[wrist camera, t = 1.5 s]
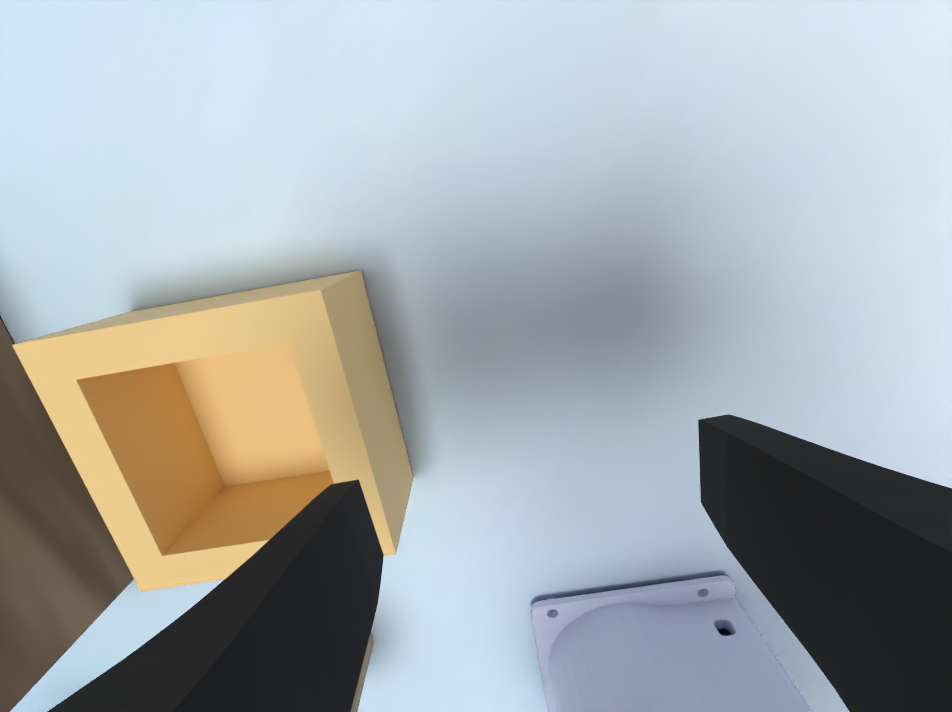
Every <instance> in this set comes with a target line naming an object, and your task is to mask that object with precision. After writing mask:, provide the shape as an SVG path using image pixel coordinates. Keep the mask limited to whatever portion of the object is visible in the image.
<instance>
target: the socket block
mask: <svg viewBox="0 0 952 712" xmlns="http://www.w3.org/2000/svg"><path fill="white" fill-rule="evenodd" d="M12 346H13V348H14V350H15V352H16V354H17V355H18V357H19V359H20V361H21V363H22V365H23V367H24V369H25V371H26V373H27V375H28V377H29V378H30V380H31V382H32V384H33V386H34V388H35V390H36V392H37V394H38V396H39V398H40V399H41V401H42V403H43V405H44V407H45V409H46V411H47V413H48V415H49V417H50V419H51V421H52V422H53V424H54V426H55V428H56V430H57V432H58V434H59V436H60V438H61V440H62V442H63V443H64V445H65V447H66V449H67V451H68V453H69V455H70V457H71V459H72V461H73V463H74V465H75V466H76V468H77V470H78V472H79V474H80V476H81V478H82V480H83V482H84V484H85V486H86V487H87V489H88V491H89V493H90V495H91V497H92V499H93V501H94V503H95V505H96V507H97V509H98V510H99V512H100V514H101V516H102V518H103V520H104V522H105V524H106V526H107V528H108V530H109V531H110V533H111V535H112V537H113V539H114V541H115V543H116V545H117V547H118V549H119V551H120V553H121V554H122V556H123V558H124V560H125V562H126V564H127V566H128V568H129V570H130V572H131V574H132V576H133V577H134V579H135V581H136V583H137V585H138V587H139V589H140V591H141V592H142V591H149V590H155V589H162V588H169V587H176V586H183V585H189V584H196V583H203V582H210V581H217V580H223V579H226V578H227V577H228V576H229V575H230V574H232V573H233V572H234V571H235V570H236V569H237V568H239V567H240V566H241V565H242V564H243V563H244V562H245V561H247V560H248V559H249V558H250V557H251V556H252V555H254V554H255V553H256V552H257V551H258V550H259V549H260V548H261V547H262V546H263V545H264V544H265V543H267V542H268V541H269V540H270V539H271V538H272V537H273V536H274V535H275V534H276V533H277V532H278V531H280V530H281V529H282V528H283V527H284V526H285V525H286V524H287V523H288V522H289V521H290V520H291V519H292V518H294V517H295V516H296V515H297V514H298V513H299V512H300V511H301V510H302V509H303V508H304V507H305V506H306V505H308V504H309V503H310V502H311V501H312V500H313V499H314V498H315V497H316V496H318V495H319V494H320V493H321V492H322V491H323V490H325V489H326V488H327V487H328V486H330V485H331V484H335V483H341V482H347V481H352V480H358V479H359V482H360V485H361V488H362V491H363V494H364V497H365V500H366V503H367V506H368V509H369V512H370V515H371V518H372V521H373V524H374V527H375V530H376V533H377V536H378V539H379V542H380V545H381V548H382V552H383V555H384V556H387V555H393V554H396V551H397V547H398V543H399V538H400V534H401V529H402V525H403V521H404V516H405V512H406V508H407V503H408V499H409V495H410V490H411V486H412V482H413V474H412V470H411V466H410V462H409V458H408V454H407V450H406V446H405V442H404V438H403V434H402V430H401V426H400V422H399V418H398V414H397V410H396V406H395V402H394V398H393V394H392V390H391V386H390V382H389V379H388V375H387V371H386V367H385V363H384V359H383V355H382V351H381V347H380V343H379V339H378V335H377V331H376V327H375V323H374V319H373V315H372V311H371V307H370V303H369V299H368V295H367V291H366V287H365V283H364V280H363V276H362V272H361V270H359V271H353V272H348V273H342V274H336V275H331V276H325V277H320V278H314V279H309V280H303V281H298V282H292V283H286V284H281V285H275V286H270V287H264V288H259V289H253V290H248V291H242V292H236V293H231V294H225V295H220V296H214V297H209V298H203V299H197V300H192V301H186V302H181V303H175V304H170V305H164V306H159V307H153V308H147V309H142V310H136V311H131V312H127V313H124V314H120V315H117V316H113V317H109V318H106V319H102V320H99V321H95V322H92V323H88V324H84V325H81V326H77V327H74V328H70V329H67V330H63V331H60V332H56V333H52V334H49V335H45V336H42V337H38V338H35V339H31V340H27V341H24V342H20V343H17V344H13V345H12Z"/></svg>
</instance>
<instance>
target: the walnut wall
mask: <svg viewBox="0 0 952 712" xmlns="http://www.w3.org/2000/svg"><path fill="white" fill-rule="evenodd" d="M12 345H13V342H12V340H11V338H10V336H9V334H8V332H7V330H6V328H5V326H4V324H3V322H2V321H1V319H0V712H10V711H11V710H12V709H13V708H14V707H15V705H16V704H17V703H18V702H19V701H20V700H21V699H22V698H23V697H24V696H25V695H26V694H27V693H28V692H29V690H30V689H31V688H32V687H33V686H34V685H35V684H36V683H37V682H38V681H39V680H40V679H41V678H42V677H43V676H44V674H45V673H46V672H47V671H48V670H49V669H50V668H51V667H52V666H53V665H54V664H55V663H56V662H57V661H58V659H59V658H60V657H61V656H62V655H63V654H64V653H65V652H66V651H67V650H68V649H69V648H70V647H71V646H72V644H73V643H74V642H75V641H76V640H77V639H78V638H79V637H80V636H81V635H82V634H83V633H84V632H85V631H86V630H87V628H88V627H89V626H90V625H91V624H92V623H93V622H94V621H95V620H96V619H97V618H98V617H99V616H100V615H101V613H102V612H103V611H104V610H105V609H106V608H107V607H108V606H109V605H110V604H111V603H112V602H113V601H114V600H115V598H116V597H117V596H118V595H119V594H120V593H121V592H122V591H123V590H124V589H125V588H126V587H127V586H128V585H129V584H130V582H131V581H132V580H133V579H134V577H133V576H132V574H131V572H130V570H129V568H128V566H127V564H126V562H125V560H124V558H123V556H122V554H121V553H120V551H119V549H118V547H117V545H116V543H115V541H114V539H113V537H112V535H111V533H110V531H109V530H108V528H107V526H106V524H105V522H104V520H103V518H102V516H101V514H100V512H99V510H98V509H97V507H96V505H95V503H94V501H93V499H92V497H91V495H90V493H89V491H88V489H87V487H86V486H85V484H84V482H83V480H82V478H81V476H80V474H79V472H78V470H77V468H76V466H75V465H74V463H73V461H72V459H71V457H70V455H69V453H68V451H67V449H66V447H65V445H64V443H63V442H62V440H61V438H60V436H59V434H58V432H57V430H56V428H55V426H54V424H53V422H52V421H51V419H50V417H49V415H48V413H47V411H46V409H45V407H44V405H43V403H42V401H41V399H40V398H39V396H38V394H37V392H36V390H35V388H34V386H33V384H32V382H31V380H30V378H29V377H28V375H27V373H26V371H25V369H24V367H23V365H22V363H21V361H20V359H19V357H18V355H17V354H16V352H15V350H14V348H13V346H12Z"/></svg>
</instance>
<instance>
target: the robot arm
mask: <svg viewBox="0 0 952 712" xmlns="http://www.w3.org/2000/svg"><path fill="white" fill-rule="evenodd" d="M698 422H699V454H700V485H701V503H702V505H703V507H704V508H705V510H706V512H707V514H708V515H709V517H710V519H711V521H712V522H713V524H714V526H715V528H716V529H717V531H718V532H719V534H720V536H721V537H722V539H723V541H724V542H725V544H726V546H727V547H728V548H729V550H730V551H731V553H732V554H733V555H734V557H735V558H736V559H737V561H738V562H739V563H740V564H741V566H742V567H743V568H744V570H745V571H746V572H747V574H748V575H749V576H750V578H751V579H752V580H753V582H754V583H755V584H756V585H757V587H758V588H759V589H760V591H761V592H762V593H763V595H764V596H765V597H766V598H767V600H768V601H769V602H770V604H771V605H772V606H773V607H774V609H775V610H776V611H777V613H778V614H779V615H780V616H781V618H782V619H783V620H784V622H785V623H786V624H787V626H788V627H789V628H790V629H791V631H792V632H793V633H794V635H795V636H796V637H797V638H798V640H799V641H800V642H801V644H802V645H803V646H804V648H805V649H806V650H807V651H808V653H809V654H810V655H811V657H812V658H813V659H814V661H815V662H816V663H817V665H818V666H819V667H820V669H821V670H822V672H823V673H824V674H825V676H826V677H827V679H828V680H829V681H830V683H831V684H832V686H833V687H834V688H835V690H836V691H837V693H838V694H839V696H840V697H841V699H842V701H843V702H844V704H845V705H846V707H847V708H848V710H849V711H850V712H952V488H948V487H945V486H941V485H938V484H935V483H931V482H928V481H925V480H922V479H918V478H915V477H912V476H909V475H906V474H903V473H899V472H896V471H893V470H890V469H887V468H883V467H880V466H877V465H874V464H871V463H868V462H865V461H862V460H860V459H857V458H854V457H851V456H848V455H845V454H842V453H839V452H836V451H834V450H831V449H828V448H825V447H822V446H819V445H817V444H814V443H811V442H808V441H806V440H803V439H800V438H797V437H795V436H792V435H789V434H786V433H783V432H781V431H778V430H775V429H772V428H770V427H767V426H764V425H761V424H758V423H755V422H752V421H749V420H746V419H743V418H740V417H736V416H732V415H723V416H717V417H712V418H706V419H700V420H698ZM383 556H384V555H383V552H382V548H381V545H380V542H379V539H378V536H377V533H376V530H375V527H374V524H373V521H372V518H371V515H370V512H369V509H368V506H367V503H366V500H365V497H364V494H363V491H362V488H361V485H360V482H359V479H358V480H352V481H347V482H341V483H335V484H331V485H330V486H328V487H327V488H326V489H325V490H323V491H322V492H321V493H320V494H319V495H318V496H316V497H315V498H314V499H313V500H312V501H311V502H310V503H309V504H308V505H306V506H305V507H304V508H303V509H302V510H301V511H300V512H299V513H298V514H297V515H296V516H295V517H294V518H292V519H291V520H290V521H289V522H288V523H287V524H286V525H285V526H284V527H283V528H282V529H281V530H280V531H278V532H277V533H276V534H275V535H274V536H273V537H272V538H271V539H270V540H269V541H268V542H267V543H265V544H264V545H263V546H262V547H261V548H260V549H259V550H258V551H257V552H256V553H255V554H254V555H252V556H251V557H250V558H249V559H248V560H247V561H245V562H244V563H243V564H242V565H241V566H240V567H239V568H237V569H236V570H235V571H234V572H233V573H232V574H230V575H229V576H228V577H227V578H226V579H225V580H224V581H222V582H221V583H220V584H219V585H218V586H217V587H215V588H214V589H213V590H212V591H211V592H210V593H209V594H207V595H206V596H205V597H204V598H203V599H201V600H200V601H199V602H198V603H197V604H195V605H194V606H193V607H192V608H190V609H189V610H188V611H187V612H185V613H184V614H183V615H182V616H180V617H179V618H178V619H177V620H175V621H174V622H173V623H171V624H170V625H169V626H167V627H166V628H165V629H163V630H162V631H161V632H160V633H158V634H157V635H156V636H154V637H153V638H152V639H150V640H149V641H148V642H146V643H145V644H144V645H142V646H141V647H140V648H138V649H137V650H136V651H134V652H133V653H132V654H130V655H129V656H127V657H126V658H125V659H123V660H122V661H120V662H119V663H118V664H116V665H115V666H113V667H112V668H110V669H109V670H107V671H106V672H104V673H103V674H102V675H100V676H99V677H97V678H96V679H94V680H93V681H91V682H90V683H88V684H87V685H86V686H84V687H83V688H81V689H80V690H78V691H77V692H75V693H74V694H72V695H71V696H70V697H68V698H67V699H65V700H64V701H62V702H61V703H59V704H58V705H56V706H55V707H54V708H52V709H51V710H49V711H48V712H351V708H352V704H353V700H354V696H355V692H356V688H357V684H358V680H359V676H360V672H361V668H362V664H363V660H364V657H365V653H366V649H367V645H368V641H369V637H370V633H371V629H372V625H373V620H374V616H375V612H376V608H377V604H378V597H379V590H380V583H381V574H382V565H383ZM700 589H702V590H700ZM552 609H553V611H549V610H552ZM531 616H532V622H533V628H534V633H535V639H536V645H537V650H538V656H539V662H540V667H541V673H542V679H543V684H544V690H545V696H546V701H547V707H548V712H813V711H812V709H811V708H810V707H809V705H808V704H807V702H806V701H805V699H804V698H803V696H802V695H801V693H800V692H799V690H798V689H797V688H796V686H795V685H794V683H793V682H792V680H791V679H790V677H789V676H788V674H787V673H786V671H785V670H784V668H783V667H782V666H781V664H780V663H779V661H778V660H777V658H776V657H775V655H774V654H773V652H772V651H771V649H770V648H769V647H768V645H767V644H766V642H765V641H764V639H763V638H762V636H761V635H760V633H759V632H758V630H757V629H756V628H755V626H754V625H753V623H752V622H751V620H750V619H749V617H748V616H747V614H746V613H745V611H744V610H743V609H742V607H741V606H740V604H739V603H738V601H737V600H736V599H735V584H734V583H733V581H732V580H731V579H730V578H729V577H728V576H713V577H706V578H699V579H692V580H685V581H678V582H670V583H663V584H656V585H649V586H642V587H635V588H627V589H620V590H613V591H606V592H599V593H592V594H584V595H577V596H570V597H563V598H556V599H549V600H541V601H537V602H535V603H534V604H532V606H531Z"/></svg>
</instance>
